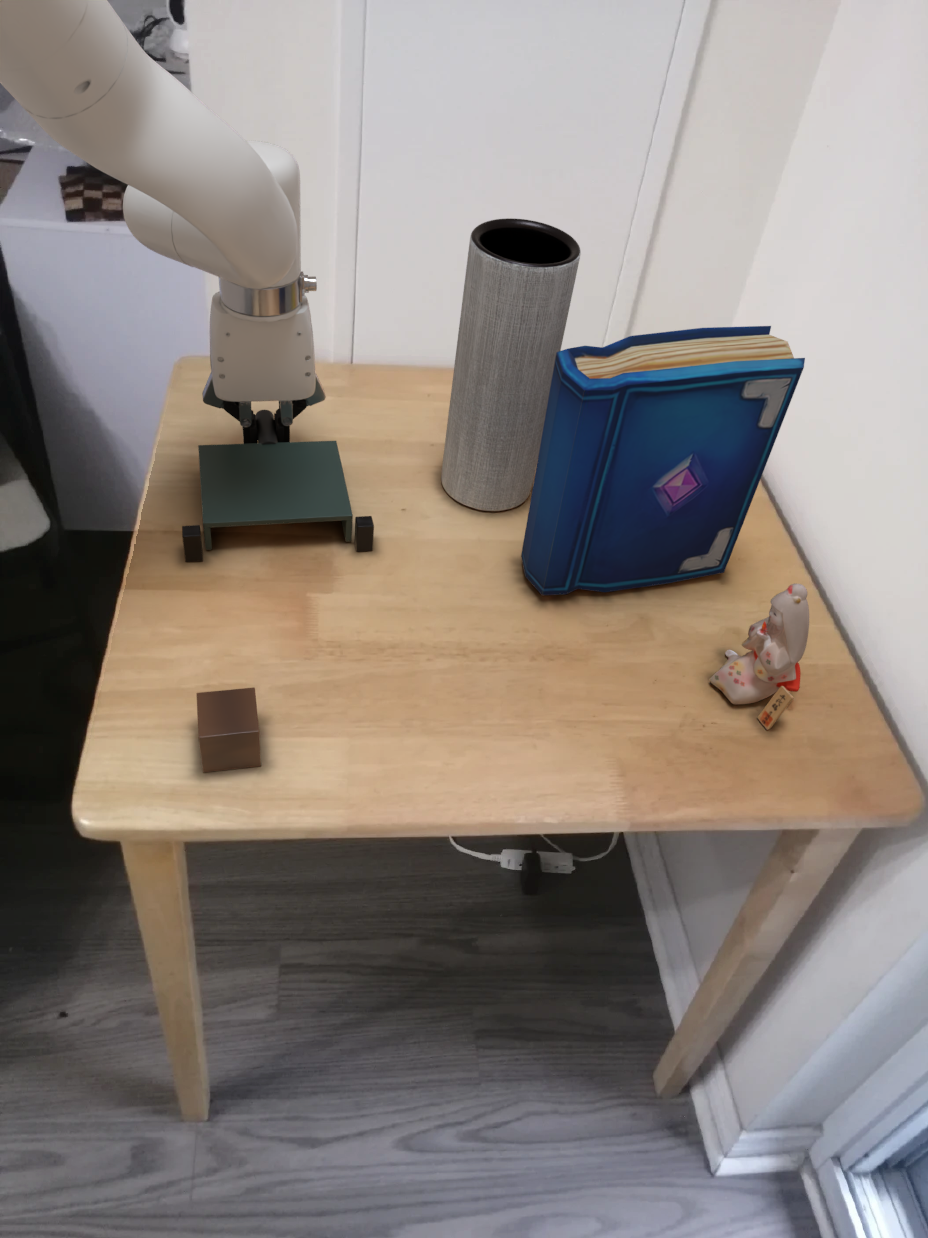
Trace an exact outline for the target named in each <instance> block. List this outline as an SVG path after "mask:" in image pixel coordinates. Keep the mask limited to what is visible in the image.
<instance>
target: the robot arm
mask: <svg viewBox="0 0 928 1238" xmlns="http://www.w3.org/2000/svg"><path fill="white" fill-rule="evenodd" d="M0 85H1V86H2V87H3V88H4V89H5V90H6V91H7V92H8V93H9V94H10V95H11V96H12V97H13V98H14V99H15V101H16V102H17V103H18V104H19V105H20V106H21V107H22V108H23V109H24V111H26V112H27V114H28V115H29V116H30V117H31V118H32V119H33V120H34V121H35V122H36V123H37V125H38V126H39V127H40V128H41V129H42V130H43V131H44V132H45V133H46V134H47V135H48V136H49V137H50V138H51V139H52V140H53V141H55V142H56V143H57V144H59V145H60V146H62V147H63V149H65V150H67V151H69V152H70V153H72V154H73V155H74V156H75V157H78V158H79V159H81V160H82V161H84V162H85V163H87V164H89V165H90V166H92V167H93V168H95V169H96V170H98V171H100V172H102V173H103V174H106V175H108V176H109V177H112V178H113V179H116V180H117V181H120V182H121V183H124V184H126V188H125V191H124V195H123V199H122V213H123V218H124V222H125V224H126V226H127V229H128V230H129V232H130V233H131V235H132V236H133V237H134V238H135V240H137V242H139V243H140V244H141V245H142V246H143V247H145V248H147V249H148V250H149V251H152V252H154V253H155V254H158V255H160V256H162V257H165V258H168V259H169V260H173V261H175V262H177V263H180V264H183V265H186V266H189V267H191V268H194V269H197V270H200V271H202V272H205V273H207V274H211V275H213V276H215V277H218V288H219V289H218V290H219V291H217V292H215V293H214V294H213V295H212V299H211V303H210V311H209V312H210V314H209V359H210V360H209V361H210V374H209V375H208V378H207V380H206V383H205V385H204V388H203V390H202V402H203V403H204V404H205V405H208V406H211V407H214V408H217V409H222V410H223V411H225V412H226V413H227V414H228V415H230V416H231V417H233V418H234V419H235V420H236V421H238V422H239V425H240V426H241V427H242V429H241V430H242V441H243V442H242V444H248V443H258V436H257V424H256V417H255V415H256V413H254V410H253V409H252V402H278V408H277V409H276V410H275V412H274V413H273V415H274V421H275V428H276V434H277V441H278V443H279V442H291V430H290V429H291V425H293V423H294V419H296V418H297V417H298V416H299V415H300V414H301V413H302V412H304V410H306V409H307V407H312V406H314V405H317V404H319V403H322V402H324V401H325V400H326V399H327V396H326V392H325V388H324V386H323V385H322V383H321V381H320V378H319V376H318V375H317V372H316V354H315V341H314V340H315V339H314V331H313V323H312V314H311V309H310V303H309V300H308V297H307V296H306V295H305V294H307V293H308V294H309V293H310V292H317V288H318V287H317V286H318V285H317V277H316V276H309V275H308V274H304V271H303V270H302V268H301V267H302V241H301V240H302V239H301V237H302V236H301V234H302V231H301V227H302V226H301V225H302V224H301V223H302V221H301V220H302V219H301V171H300V167H299V164H298V160H297V159H296V158H295V156H294V154H292V153H291V151H288V150H287V149H286V148H285V147H283V146H281V145H278V144H275V143H270V142H268V141H267V142H266V141H263V140H262V141H260V140H246V139H245V138H244V137H243V136H242V135H241V134H240V133H239V132H238V131H236V130H235V129H234V128H233V127H232V126H231V125H230V124H229V123H228V122H227V121H226V120H224V119H223V118H222V117H221V116H220V115H218V114H217V113H216V112H215V111H214V110H212V109H211V108H210V107H209V106H208V105H206V103H204V102H203V101H202V100H201V99H200V98H199V97H198V96H196V94H194V93H193V92H192V91H191V90H190V89H189V88H188V87H187V86H186V85H184V84H183V83H182V82H181V81H180V80H178V78H176V77H175V76H174V75H172V74H171V73H170V72H169V71H168V70H166V69H165V68H164V67H162V66H161V65H160V64H159V63H158V62H157V61H155V60H154V59H153V58H152V57H151V56H149V55H148V53H147V52H145V50H144V48H142V46H141V45H140V44H139V42H137V40H136V38H135V37H134V36H133V35H132V33H131V31H130V30H129V28H127V26H126V24H125V23H124V22H123V20H122V19H121V17H120V16H119V15H118V13H117V12H116V10H115V9H114V8H113V6H112V5H111V3H110V2H109V1H108V0H0Z"/></svg>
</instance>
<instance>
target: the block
mask: <svg viewBox="0 0 928 1238" xmlns="http://www.w3.org/2000/svg"><path fill="white" fill-rule="evenodd" d="M196 713H197V716H196V717H197V738H198V747H199V752H200V761H201V768H202V769H201V770H202V773H211V772H219V771H228V770H229V771H230V770H238V769H247V768H254V767H255V768H256V767H262V756H261V740H260V739H261V738H260V736H261V735H260V727H259V726H260V725H259V715H258V714H259V713H258V705H257V696H256V688H255V687H244V688H234V689H223V690H212V691H203V692H196Z"/></svg>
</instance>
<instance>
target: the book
mask: <svg viewBox="0 0 928 1238" xmlns="http://www.w3.org/2000/svg"><path fill="white" fill-rule="evenodd" d="M771 329H772V325H753V326H750V325H749V326H717V327H715V326H714V327H698V328H687V329H680V330H670V331H661V332H654V333H645V334H635V335H630V336H627V337H624V338H622V339H620V340H617V341H615V342H614V341H613V342H612V343H610V344H607V345H604V346H602V347H601V346H594V345H593V346H592V345H581V346H575V347H574V346H573V347H569V348H566V349H561V351H559V352H556V358H555V364H554V369H553V375H552V381H551V387H550V392H549V398H548V404H547V410H546V415H545V421H544V427H543V433H542V438H541V444H540V450H539V456H538V461H537V465H536V470H535V475H534V480H533V484H532V489H531V496H530V503H529V508H528V514H527V518H526V524H525V531H524V536H523V542H522V547H521V554H520V558H521V563H522V567H523V573H524V577H525V578H526V579H527V580H528V582H530V584H531V585H532V586H533V587H534V588H535V589H536V590H537V592H538V593H539V594H540V595H541V596H557V595H560V596H561V595H568V594H570V593H572V592H575V591H577V590H585V591H592V592H599V593H600V592H601V593H610V592H617V591H624V590H630V589H638V588H646V587H652V586H659V585H665V584H671V583H676V582H682V581H686V580H692V579H697V578H702V577H708V576H714V575H718V574H724V573H725V572H726V568H727V566H728V564H729V561H730V559H731V556H732V553H733V551H734V548H735V546H736V543H737V541H738V538H739V536H740V533H741V530H742V527H743V526H744V522H745V520H746V517H747V515H748V512H749V509H750V507H751V504H752V502H753V499H754V497H755V494H756V491H757V489H758V486H759V483H760V481H761V479H762V476H763V474H764V471H765V468H766V466H767V463H768V461H769V459H770V455H771V453H772V451H773V447H774V446H775V443H776V440H777V437H778V435H779V432H780V430H781V427H782V425H783V423H784V419H785V418H786V415H787V412H788V409H789V407H790V404H791V402H792V399H793V398H794V394H795V392H796V389H797V386H798V384H799V381H800V379H801V376H802V373H803V372H804V369H805V363H806V357H794V355H793V351H792V349H791V346H790V344H789V341H787V340H785V339H782V338H780V337H777V336H774V335H771Z"/></svg>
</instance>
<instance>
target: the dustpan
mask: <svg viewBox="0 0 928 1238" xmlns="http://www.w3.org/2000/svg"><path fill="white" fill-rule="evenodd" d="M255 417H256V424H257V436H258V443H248V444H244V443H223V444H199V445H198V444H197V445H198V446H197V449H198V464H199V467H198V468H199V481H200V484H199V485H200V497H201V498H200V499H201V512H202V513H201V514H202V529H203V538H204V547H205V549H204V550H206V551H207V550H208V551H209V550H212V549H213V544H212V541H213V540H212V528H226V527H228V528H229V527H245V526H246V527H248V526H264V525H265V526H266V525H283V524H302V523H320V522H321V523H323V522H338V521H339V522H340V521H341V522H340V523H341V526H342V527H341V528H342V531H343V537H344V540H345V541H344V542H346V543H347V542H348V543H349V542H352V537H353V519H354V515H353V510H352V506H351V500H350V496H349V492H348V487H347V483H346V479H345V474H344V470H343V465H342V460H341V455H340V451H339V447H338V442H337V440H314V441H313V440H311V441H290V442H279V443H278V441H277V434H276V428H275V421H274V413H273V412H272V411H270V410H269V409H260V410H258V411H257V412H256V413H255Z"/></svg>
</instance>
